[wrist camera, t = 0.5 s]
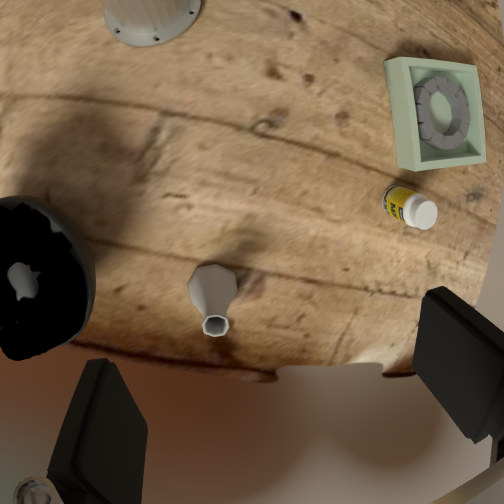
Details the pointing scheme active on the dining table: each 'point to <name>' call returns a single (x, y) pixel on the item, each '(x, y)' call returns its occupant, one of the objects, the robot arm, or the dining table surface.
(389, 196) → the supplement bottle
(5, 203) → the bowl of black rocks
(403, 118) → the socket box
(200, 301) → the flask
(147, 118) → the dining table surface
